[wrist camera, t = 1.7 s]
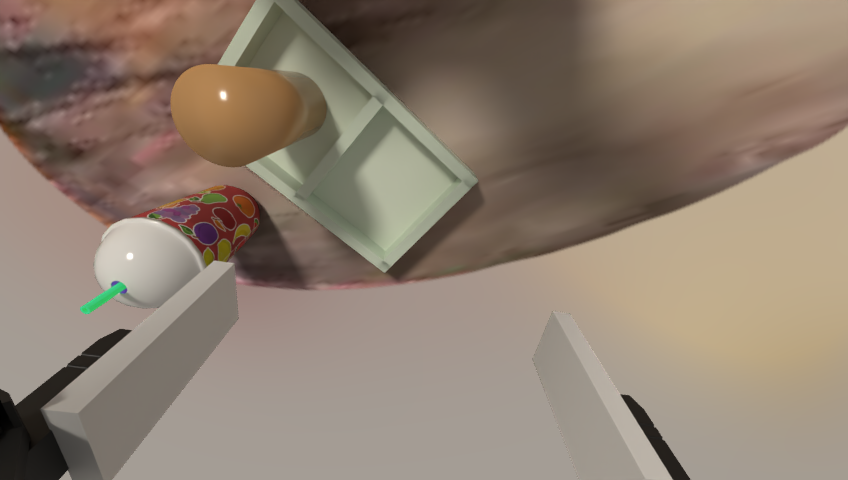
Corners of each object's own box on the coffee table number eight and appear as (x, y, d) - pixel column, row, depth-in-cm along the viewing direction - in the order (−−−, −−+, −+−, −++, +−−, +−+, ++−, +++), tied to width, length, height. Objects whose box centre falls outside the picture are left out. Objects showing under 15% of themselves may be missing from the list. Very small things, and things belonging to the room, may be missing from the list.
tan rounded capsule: (252, 107, 35) (153, 121, 22) (286, 56, 33) (199, 39, 20) (303, 150, 37) (239, 185, 24) (338, 104, 35) (289, 116, 22)
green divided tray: (206, 115, 36) (185, 119, 33) (285, -12, 32) (269, -23, 28) (387, 259, 44) (384, 273, 40) (474, 172, 39) (478, 180, 36)
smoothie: (202, 232, 42) (33, 345, 24) (198, 168, 39) (-1, 243, 21) (270, 246, 43) (156, 366, 25) (272, 184, 39) (143, 270, 21)
